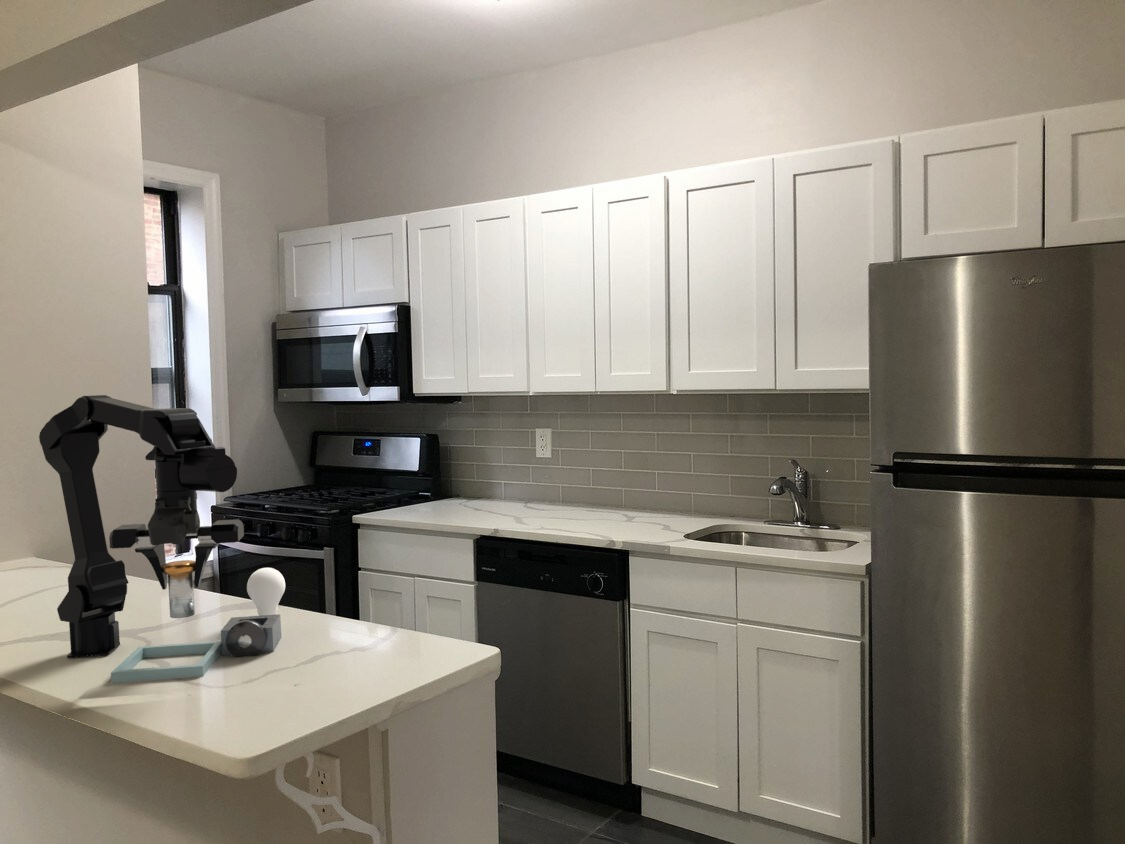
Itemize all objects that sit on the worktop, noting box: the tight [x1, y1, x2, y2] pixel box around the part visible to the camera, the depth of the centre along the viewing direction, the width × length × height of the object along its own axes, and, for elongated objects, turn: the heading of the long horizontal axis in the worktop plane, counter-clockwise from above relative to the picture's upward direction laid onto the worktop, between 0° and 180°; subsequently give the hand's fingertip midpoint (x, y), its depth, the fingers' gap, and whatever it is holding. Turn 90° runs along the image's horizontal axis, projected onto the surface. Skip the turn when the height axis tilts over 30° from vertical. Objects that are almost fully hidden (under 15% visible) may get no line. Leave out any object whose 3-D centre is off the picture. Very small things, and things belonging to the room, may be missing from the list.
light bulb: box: [246, 567, 286, 616], centre depth 164 cm, size 7×7×11 cm
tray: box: [110, 640, 222, 684], centre depth 141 cm, size 13×13×2 cm
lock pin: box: [163, 559, 196, 619], centre depth 142 cm, size 5×5×8 cm
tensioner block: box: [220, 613, 282, 658], centre depth 149 cm, size 8×10×6 cm
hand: (180, 588), depth 142 cm, fingers closed on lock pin, 4 cm apart
